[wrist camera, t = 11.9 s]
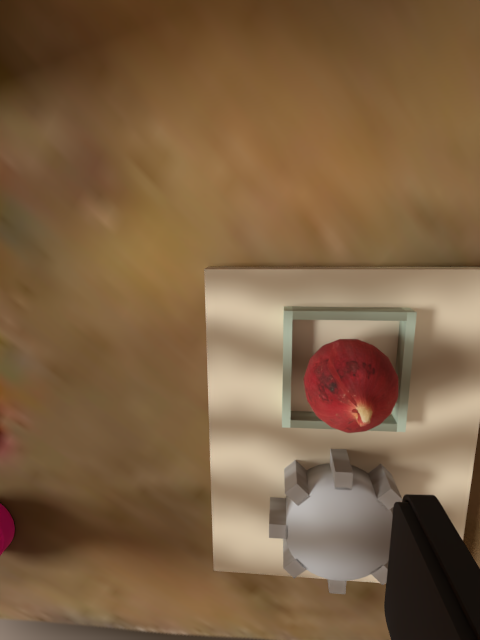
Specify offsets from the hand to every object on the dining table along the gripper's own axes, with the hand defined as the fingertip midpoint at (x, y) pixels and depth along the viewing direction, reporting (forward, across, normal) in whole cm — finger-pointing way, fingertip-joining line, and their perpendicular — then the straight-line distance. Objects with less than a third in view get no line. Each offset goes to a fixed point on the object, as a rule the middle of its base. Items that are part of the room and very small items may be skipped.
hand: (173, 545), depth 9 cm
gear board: (+22, -8, +10) cm, 26 cm away
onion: (+21, -8, +4) cm, 23 cm away
